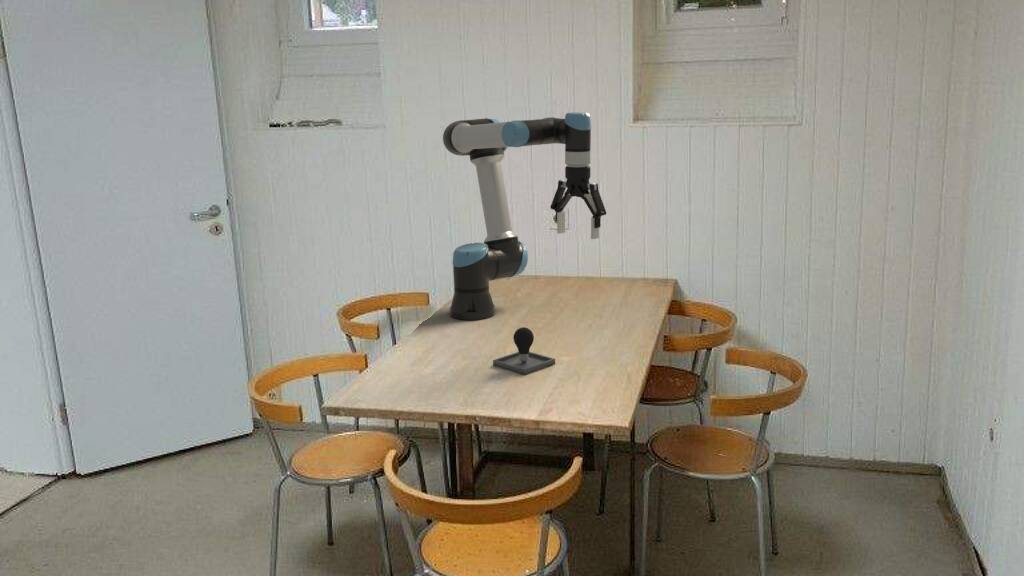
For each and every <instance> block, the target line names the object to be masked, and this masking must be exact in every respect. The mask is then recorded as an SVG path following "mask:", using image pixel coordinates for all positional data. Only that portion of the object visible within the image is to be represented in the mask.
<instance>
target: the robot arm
mask: <svg viewBox="0 0 1024 576" xmlns="http://www.w3.org/2000/svg"><path fill="white" fill-rule="evenodd" d="M564 116H565V117H564V118H562V117H561V118H560V117H559V118H558V117H552V116H551V117H543V118H540V119H525V120H517V119H516V120H511V121H503V122H501V121H500V120H499V119H497V118H488V117H486V118H476V119H475V118H474V119H465V120H464V119H462V120H456V121H453V122H452V123H450V124H448V125H447V126H446V128H445V129H444V131H443V134H442V142H443V146H444V147H445V148H446V150H447V151H448V152H449V153H451V154H452V155H455V156H463V157H464V156H469V159H470V163H472V164H473V165H474V166H475V169H476V175H477V181H478V182H477V183H478V187H479V193H480V200H481V205H482V210H483V218H484V224H485V229H486V237H485V239H484V241H483V242H473V243H471V242H470V243H465V244H462V245H459V246H458V247H456V248H454V251H453V253H452V267H453V271H452V272H453V287H454V288H453V289H454V290H453V297H452V300H451V305H450V306H449V316H450V317H451V318H453V319H455V320H456V319H457V320H462V321H463V320H466V321H474V320H475V321H477V320H484V319H489V318H491V317H494V316H495V315H496V308H495V307H496V306H495V304H494V301H493V298H492V296H491V293H490V281H496V280H501V279H505V278H506V279H507V278H513V277H515V276H520V274H522V273H523V272H524V271H525V270H526V267H528V260H529V253H528V249H527V247H526V246H525V244H524V242H522V241H520V240H519V238H518V237H519V236H518V234H516V233H515V232H513V229H512V227H513V226H512V221H511V216H510V210H509V203H508V197H507V192H506V187H505V185H506V184H505V179H504V173H503V169H502V163H501V162H502V160H503V159H504V158H505V151H507V150H508V148H520V147H529V146H530V147H531V146H540V145H541V146H542V145H552V144H559V145H561V144H562V145H564V150H565V151H564V152H565V153H564V164H565V165H566V166H565V167H564V173H565V174H564V175H565V176H564V177H565V178H564V179H559V180H558V182H557V189H556V191H555V193H554V196H553V198H552V199H553V200H552V202H551V205H550V209H551V210H554V212H555V222H556V224H557V225H556V226H557V227H556V229H557V231H556V232H557V234H563V233H566V212H565V211H564V210H565V207H566V206H567V204H569V202H570V201H571V199H572V198H573V197H577V198H580V199H582V200H583V201H584V203H585V204H586V206H587V208H588V210H589V211H590V213H591V215H592V216H591V217H590V240H596V239H599V237H600V228H601V227H602V225H601V223H602V222H601V220H602V219H601V217H602V216H606V215H607V211H606V207H605V204H604V203H603V200H602V197H601V193H600V191H599V184H598V183H597V182H594V183H593V182H592V183H590V178H591V166H590V164H591V142H592V141H591V140H592V139H591V138H592V137H591V136H592V133H591V132H592V125H591V123H592V121H591V115H590V113H588V112H585V111H584V112H581V111H580V112H578V111H576V112H575V111H574V112H572V111H571V112H566V114H565V115H564Z"/></svg>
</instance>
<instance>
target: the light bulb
mask: <svg viewBox="0 0 1024 576" xmlns="http://www.w3.org/2000/svg"><path fill="white" fill-rule="evenodd" d="M534 336H535V335H534V333H533V331H532V330H531V329H529V328H528V327H519V328H517V329H516V330H515V332H514V333H513V342H514V344H515V346H516V347H517V350H518V351H517V352H519V355H520V356H519V358H520V361H522V362H523V363H525V362H526V361H527V360H528V353H529V352H530V349H531V347H532V344H533V343H534V339H535V337H534Z"/></svg>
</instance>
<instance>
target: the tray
mask: <svg viewBox="0 0 1024 576" xmlns="http://www.w3.org/2000/svg"><path fill="white" fill-rule="evenodd" d="M519 356H520V355H519V351H516V352H514V353H511V354H508V355H504V356H502V357H499V358H495V359H493V360H492V366H493V367H494V366H495V367H498V368H501V369H504V370H507V371H511V372H513V373H517V374H520V375H523V376H526V375H527V374H528V375H529V374H531V373H534V372H536V371H539V370H543V369H546V368H548V367H551V366H554V365H556V358H553V357H550V356H545V355H543V354H538V353H536V352H533V351H529V353H528V360H527V361H526V362H525V363H523V362H522V361H520V358H519ZM553 364H554V365H553Z"/></svg>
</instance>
